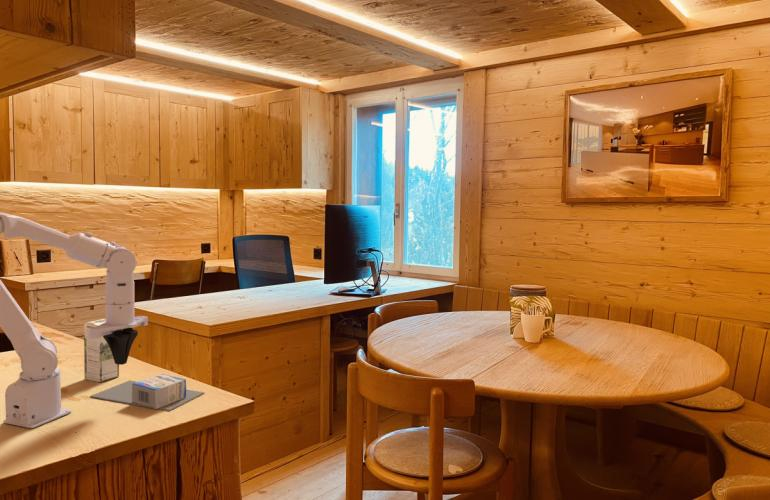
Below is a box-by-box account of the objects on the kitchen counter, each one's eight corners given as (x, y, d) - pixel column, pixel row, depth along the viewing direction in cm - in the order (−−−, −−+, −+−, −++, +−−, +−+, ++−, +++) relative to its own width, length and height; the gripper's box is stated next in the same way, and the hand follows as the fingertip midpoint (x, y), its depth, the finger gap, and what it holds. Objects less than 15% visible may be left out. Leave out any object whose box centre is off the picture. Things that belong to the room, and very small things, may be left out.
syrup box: (104, 373, 148) (103, 317, 147) (120, 377, 146) (119, 320, 144) (84, 379, 143) (82, 322, 142) (100, 383, 141) (99, 325, 139)
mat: (169, 411, 124) (169, 409, 124) (90, 397, 131) (90, 395, 131) (204, 393, 135) (204, 392, 135) (129, 381, 142) (129, 380, 142)
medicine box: (130, 383, 127) (162, 372, 135) (131, 403, 128) (162, 391, 135) (155, 390, 123) (186, 378, 131) (156, 410, 124) (187, 397, 132)
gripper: (108, 309, 117) (109, 375, 118) (158, 298, 131) (158, 357, 132) (81, 306, 119) (82, 370, 120) (133, 296, 133) (134, 353, 134)
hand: (120, 363), depth 126 cm, fingers closed
